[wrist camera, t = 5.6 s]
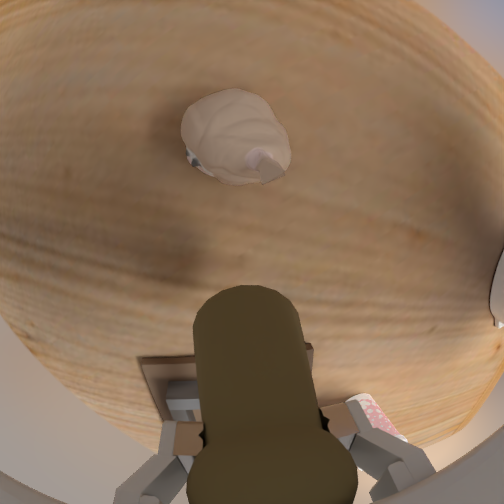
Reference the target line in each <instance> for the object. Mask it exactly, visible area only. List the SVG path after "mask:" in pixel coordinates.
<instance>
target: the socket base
mask: <svg viewBox="0 0 504 504" xmlns="http://www.w3.org/2000/svg"><path fill="white" fill-rule="evenodd" d="M305 346H306V351H307V355H308V360H309V365H310V369H311V374H312V363H313V351H314V349H313V347H312V345H311V343H309V344H305ZM141 366H142V369H143V372H144V374H145V377H146V380H147V382H148V385H149V388H150V390H151V393H152V395H153V398H154V400H155V402H156V405H157V407H158V410H159V412H160V414H161V416H162V419H163V421H202V418H201V410H200V402H199V393H198V384H197V374H196V363H195V357H174V358H143V360H142V363H141Z"/></svg>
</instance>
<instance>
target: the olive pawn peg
mask: <svg viewBox="0 0 504 504" xmlns="http://www.w3.org/2000/svg"><path fill="white" fill-rule="evenodd" d="M193 339H194V352H195V363H196V374H197V384H198V393H199V402H200V410H201V418H202V421H203V422H204V439H205V447H204V448H203V449H202V450H201V451H200V452H199V453H198V455H197V456H196V458H195V460H194V462H193V464H192V466H191V469H190V471H189V474H188V477H187V489H186V493H187V497H188V501H189V504H353V501H354V498H355V495H356V491H357V487H358V475H357V466H356V464H355V462H354V460H353V458H352V455H351V453H350V452H349V451H348V450H347V449H346V447H345V446H344V445H343V444H342V443H341V442H340V441H339V440H338V439H337V438H336V437H335V436H334V435H333V434H332V433H329V432H327V431H325V430H323V429H322V424H321V419H320V414H319V409H318V403H317V398H316V393H315V389H314V384H313V379H312V374H311V369H310V365H309V360H308V355H307V351H306V346H305V342H304V337H303V333H302V328H301V324H300V319H299V315H298V312H297V310H296V309H295V307H294V306H293V304H292V303H291V302H290V300H289V299H287V298H286V297H284V296H283V295H282V294H280V293H279V292H277V291H276V290H272V289H269V288H266V287H263V286H259V285H240V286H236V287H233V288H229V289H226V290H222V291H221V292H219V293H218V294H216V295H214V296H213V297H211V298H210V299H208V300H207V301H206V302H205V304H204V305H203V306H202V307H201V309H200V310H199V311H198V312H197V315H196V318H195V321H194V324H193Z"/></svg>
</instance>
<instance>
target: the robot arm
mask: <svg viewBox="0 0 504 504" xmlns="http://www.w3.org/2000/svg"><path fill="white" fill-rule="evenodd" d="M490 309H491V313H492V314H493V316H494V317H495V327H497V328H499V329H500V328H501V327H503V326H504V251H503V253H502V256H501V258H500V261H499V264H498V266H497V270H496V273H495V276H494V280H493V285H492V290H491V296H490ZM319 414H320V419H321V424H322V429H323V430H325V431H327V432H329V433H332V434H333V435H334V436H335V437H336V438H337V439H338V440H339V441H340V442H341V443H342V444H343V445H344V446H345V447H346V449H347V450H348V451H349V452H350V453H351V455H352V458H353V460H354V462H355V464H356V466H358V467H359V468H360V469H362V470H363V471H365V472H366V473H367V474H369V475H370V476H372V477H373V478H375V479H376V480H378V481H377V483H376V484H375V485H374V486H373V488H372V489H371V490H370V492H369V493H370V496H371V498H372V501H373V503H370V504H504V425H502V426H501V427H500V428H499V429H498V430H497V431H495V432H494V433H493V434H492V435H491V436H489V437H488V438H487V439H485V440H484V441H483V442H482V443H480V444H479V445H478V446H476V447H475V448H474V449H472V450H471V451H469V452H468V453H466V454H465V455H464V456H462V457H461V458H459V459H458V460H456V461H455V462H453V463H451V464H450V465H448V466H447V467H445V468H443V469H442V470H440V471H438V472H436V471H435V469H434V467H433V466H432V464H431V463H430V461H429V459H428V458H427V456H426V454H425V453H424V451H423V450H422V449H420V448H418V447H416V446H414V445H412V444H410V443H407V442H405V441H403V440H401V439H399V438H397V437H395V436H393V435H391V434H389V433H387V432H385V431H383V430H381V429H379V428H377V427H376V428H373V427H372V425H371V423H370V421H369V420H368V418H367V416H366V414H365V412H364V410H363V409H362V407H361V405H360V403H359V401H358V400H356V399H354V400H351V401H347V402H342V403H338V404H334V405H329V406H325V407H321V408H319ZM204 447H205V439H204V422H203V421H164V423H163V426H162V431H161V437H160V443H159V450H158V455H156V454H154V455H153V456H152V457H151V458H150V459H149V460H148V461H147V462H145V463H144V464H143V465H142V466H141V467H140V468H139V469H138V470H137V471H136V472H135V473H134V474H133V475H131V476H130V477H129V478H128V479H127V480H126V481H125V482H124V483H123V484H121V486H119V487H118V488H117V489H116V492H115V497H114V502H113V504H169V503H170V502H171V501H172V500H173V499H174V497H175V496H176V495H177V494H178V492H179V491H180V490H181V488H182V487H183V486H184V484H185V483H186V482H187V477H188V474H189V471H190V469H191V466H192V464H193V462H194V460H195V458H196V456H197V455H198V453H199V452H200V451H201V450H202V449H203V448H204ZM0 504H67V503H64V502H61V501H59V500H57V499H54V498H52V497H50V496H47V495H45V494H43V493H41V492H38V491H37V490H35V489H32V488H30V487H28V486H27V485H25V484H23V483H21V482H19V481H17V480H15V479H14V478H12V477H10V476H8V475H7V474H5V473H3V472H2V471H0Z"/></svg>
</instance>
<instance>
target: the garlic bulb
mask: <svg viewBox="0 0 504 504" xmlns="http://www.w3.org/2000/svg"><path fill="white" fill-rule="evenodd" d="M181 137H182V140H183V141H184V143H185V145H186V156H187V159H188V161H189V163H190V164H191V165H192V166H193V167H197V168H198V169H200V170H201V171H202V172H204V173H205V174H207V175H210V176H212V177H216V178H217V179H218V180H219V181H220V182H221V183H224V184H227V185H234V186H241V185H245V184H247V183H257V182H262V185H263V184H265V183H268V182H270V181H272V180H275V179H277V178H280V177H282V176H284V175H285V173H284V172H285V170H286V169H287V168H288V166H289V165H290V162H291V149H290V146H289V139H288V135H287V132H286V129H285V127H284V126H283V125H282V124H281V123H280V122H279V121H278V120H277V119H276V117H275V115H274V113H273V111H272V109H271V107H270V105H269V104H268V103H267V102H266V101H265V100H264V99H263V98H261V97H260V96H259V95H257V94H255V93H250V92H247V91H245V90H242V89H239V88H232V89H226V90H222V91H219V92H217V93H213V94H210V95H207V96H205V97H203V98H201V99H199V100H198V101H197V102H196V103H193V104H192V105H190V106H189V107H188V108H187V110H186V111H185V114H184V116H183V119H182V122H181Z"/></svg>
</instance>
